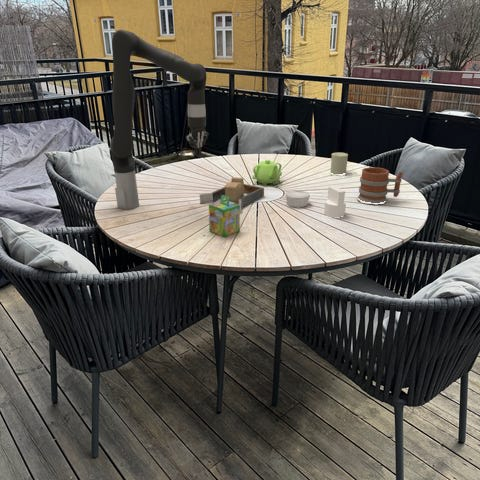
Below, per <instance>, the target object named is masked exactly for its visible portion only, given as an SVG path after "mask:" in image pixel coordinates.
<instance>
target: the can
mask: <svg viewBox="0 0 480 480" xmlns="http://www.w3.org/2000/svg"><path fill="white" fill-rule="evenodd" d="M348 157H349V154H348V153H347V152H346V153H345V152H333V153H331V161H330V162H331V163H330V172H331V173H333V174H343V173H346V174H347V169H348Z"/></svg>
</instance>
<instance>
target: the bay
mask: <svg viewBox="0 0 480 480" xmlns="http://www.w3.org/2000/svg"><path fill="white" fill-rule="evenodd" d="M224 187H225V186H223V187H221V188H219V189H216V190H214V191H212V192H206V193H199V203H200V204H201V205H202V204H212V203H216V201H217V202H218V201H219V200H221V196H222V195H224V196H225V188H224ZM244 188H245V191H244V196H243V197H241V198H239V205H240V214H241V213H242V209H243V208H245V207H246V205H247V206H249V205H251V204H252V203H254V202H256V201H258V200H260V199H262V198H264V197H265V187H262V186H258V185H257V186H256V185H254V184H253V185H251V184H246V183H244ZM245 194H246V195H245ZM248 204H249V205H248ZM244 206H245V207H244ZM242 207H243V208H242Z"/></svg>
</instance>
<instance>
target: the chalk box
mask: <svg viewBox="0 0 480 480" xmlns="http://www.w3.org/2000/svg"><path fill="white" fill-rule="evenodd" d="M225 199H226V200H225ZM240 216H241V213H240V205H239V204H236V203H233V202H231V201H230V197H227V196H224V195H222V196H221V199H220V201H219V200H218V201H217V202H216V201H215V202H212V203H209V204H208V222H209V223H208V225H209V226H208V228H209V229H208V230H209V232H211V233H214V234H217V235H218V236H221V237H222V238H225V237H228V236H230V235H233V234H235V233H238V232H240V230H241V229H240V228H241V226H240V225H241V224H240V222H241V221H240V220H241V217H240Z"/></svg>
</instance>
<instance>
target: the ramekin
mask: <svg viewBox="0 0 480 480" xmlns="http://www.w3.org/2000/svg"><path fill="white" fill-rule="evenodd" d="M310 196H311V194H310V193H309V192H307V191H304V190H290V191H287V192H286V193H285V198H286V204H287V205H288V206H289V207H291V206H292V207H291V208H296V207H300V208H304V207H303V206H305V207H307V205H308V204H309V200H310Z"/></svg>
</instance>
